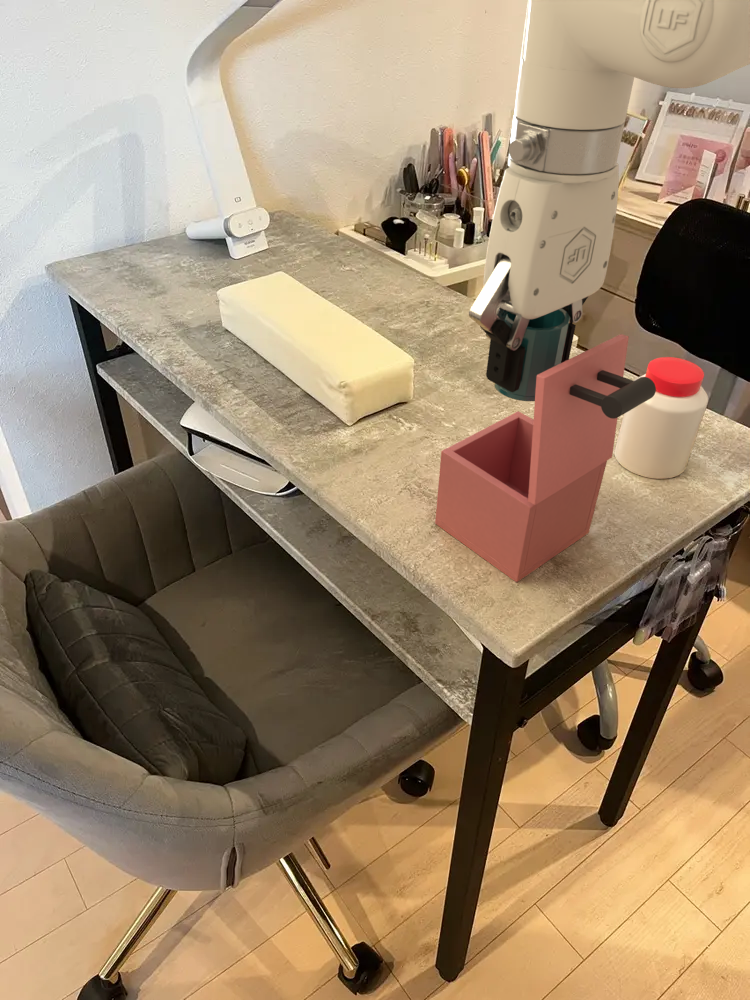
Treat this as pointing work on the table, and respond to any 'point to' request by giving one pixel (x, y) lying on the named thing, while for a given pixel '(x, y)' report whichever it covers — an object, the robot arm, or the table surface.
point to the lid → (580, 415)
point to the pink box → (509, 500)
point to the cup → (539, 350)
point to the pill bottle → (664, 421)
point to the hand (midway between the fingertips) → (527, 370)
